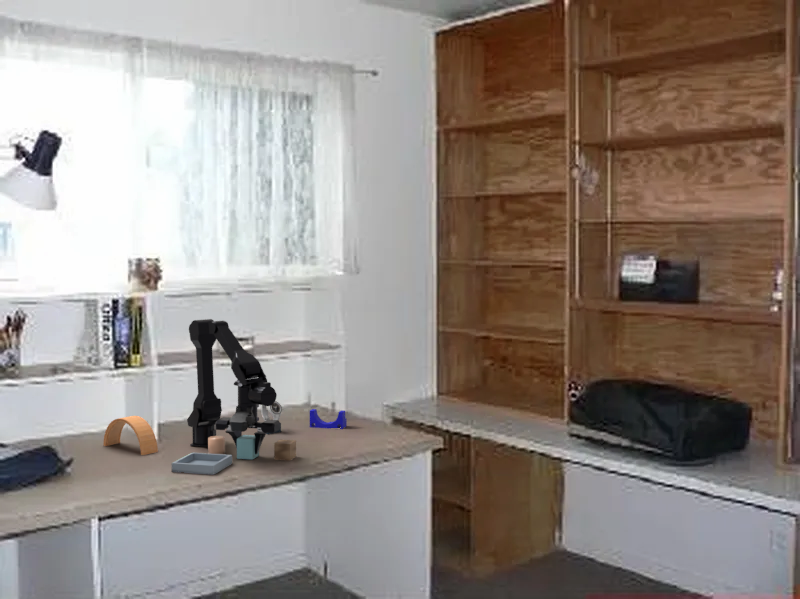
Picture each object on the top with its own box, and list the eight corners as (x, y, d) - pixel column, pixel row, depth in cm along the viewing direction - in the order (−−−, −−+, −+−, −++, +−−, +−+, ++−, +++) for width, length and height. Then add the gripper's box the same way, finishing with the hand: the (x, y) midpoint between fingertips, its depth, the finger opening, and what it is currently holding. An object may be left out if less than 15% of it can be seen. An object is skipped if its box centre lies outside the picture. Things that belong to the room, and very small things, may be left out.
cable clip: (346, 426, 304) (346, 409, 304) (342, 429, 300) (342, 412, 299) (313, 425, 307) (313, 408, 307) (309, 427, 303) (309, 410, 302)
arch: (141, 456, 262) (141, 423, 261) (103, 446, 274) (102, 414, 274) (157, 452, 267) (157, 420, 266) (119, 442, 279) (118, 411, 278)
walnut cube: (274, 459, 258) (274, 443, 257) (280, 455, 263) (280, 439, 262) (290, 460, 257) (290, 444, 256) (296, 456, 261) (296, 440, 261)
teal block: (236, 458, 258) (236, 438, 258) (243, 454, 263) (243, 434, 263) (252, 459, 257) (252, 439, 257) (259, 455, 262) (258, 435, 262)
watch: (271, 435, 290) (271, 402, 289) (256, 431, 295) (256, 399, 294) (284, 432, 294) (284, 400, 293) (270, 429, 299) (269, 397, 299)
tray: (171, 471, 243) (171, 463, 243) (192, 460, 256) (192, 452, 256) (213, 474, 241) (213, 465, 240) (232, 463, 253) (232, 454, 253)
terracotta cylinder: (205, 455, 263) (205, 439, 262) (212, 451, 267) (212, 435, 267) (220, 456, 261) (220, 439, 261) (227, 452, 266) (227, 436, 266)
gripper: (206, 405, 253) (207, 458, 254) (267, 408, 249) (267, 462, 250) (222, 398, 264) (223, 449, 265) (281, 401, 260) (281, 452, 261)
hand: (248, 453), depth 260 cm, fingers closed on teal block, 5 cm apart
